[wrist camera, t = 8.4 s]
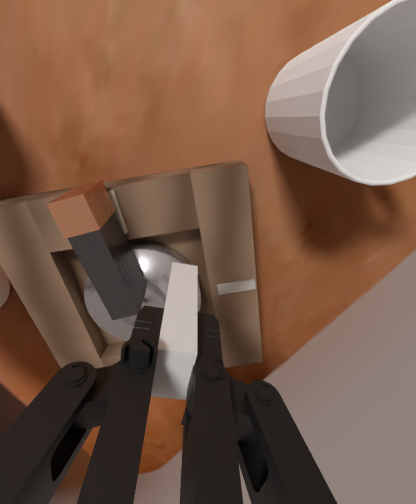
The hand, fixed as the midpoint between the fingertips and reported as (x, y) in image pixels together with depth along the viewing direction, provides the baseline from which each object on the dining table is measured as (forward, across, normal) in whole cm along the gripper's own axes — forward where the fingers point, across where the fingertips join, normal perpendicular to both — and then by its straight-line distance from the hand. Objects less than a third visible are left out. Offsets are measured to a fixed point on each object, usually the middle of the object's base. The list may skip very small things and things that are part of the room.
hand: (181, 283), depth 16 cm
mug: (+11, +10, +11) cm, 19 cm away
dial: (+9, -4, -5) cm, 11 cm away
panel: (+10, -3, -8) cm, 13 cm away
